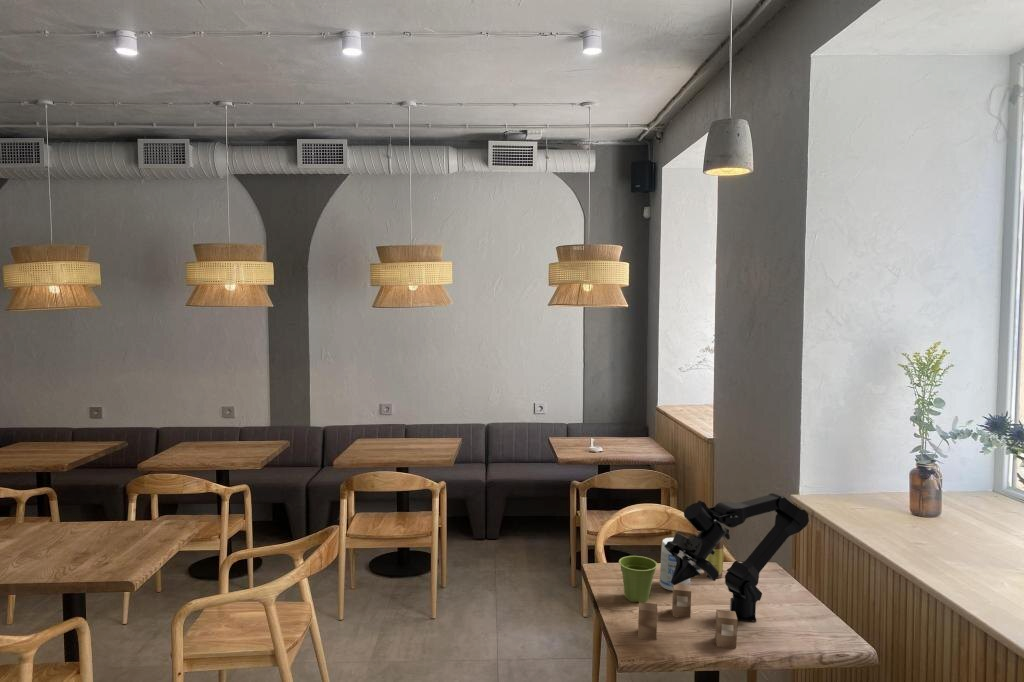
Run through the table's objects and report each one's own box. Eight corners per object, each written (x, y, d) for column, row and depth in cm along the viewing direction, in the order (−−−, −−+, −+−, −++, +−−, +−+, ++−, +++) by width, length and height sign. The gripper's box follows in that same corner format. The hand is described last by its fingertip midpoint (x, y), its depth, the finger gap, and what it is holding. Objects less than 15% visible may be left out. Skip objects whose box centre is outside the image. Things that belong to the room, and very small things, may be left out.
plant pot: (612, 601, 222) (613, 565, 222) (625, 587, 233) (626, 553, 232) (649, 609, 217) (651, 572, 216) (661, 595, 227) (662, 560, 227)
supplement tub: (668, 593, 229) (669, 548, 228) (654, 582, 238) (656, 538, 237) (695, 591, 231) (697, 545, 230) (681, 579, 240) (682, 536, 239)
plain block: (656, 631, 203) (657, 603, 202) (656, 640, 198) (657, 611, 197) (638, 629, 204) (638, 602, 203) (637, 638, 199) (638, 609, 198)
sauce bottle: (708, 570, 249) (710, 513, 247) (725, 575, 245) (728, 517, 243) (699, 576, 243) (702, 518, 242) (717, 581, 240) (720, 522, 238)
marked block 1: (689, 610, 217) (690, 584, 216) (690, 618, 212) (691, 591, 211) (672, 609, 218) (673, 583, 217) (672, 616, 212) (673, 590, 212)
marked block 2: (733, 639, 199) (735, 611, 199) (736, 648, 194) (737, 619, 193) (715, 637, 200) (716, 609, 199) (717, 646, 195) (718, 617, 194)
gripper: (671, 513, 212) (637, 554, 209) (711, 533, 195) (676, 579, 192) (692, 537, 216) (659, 578, 212) (733, 558, 199) (699, 603, 195)
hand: (672, 583), depth 203 cm, fingers closed
